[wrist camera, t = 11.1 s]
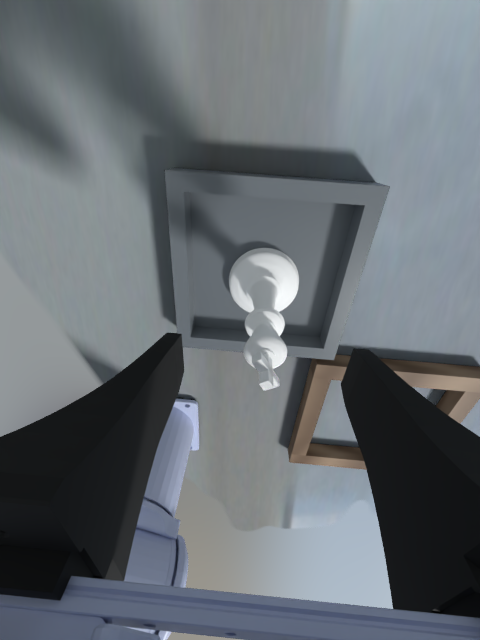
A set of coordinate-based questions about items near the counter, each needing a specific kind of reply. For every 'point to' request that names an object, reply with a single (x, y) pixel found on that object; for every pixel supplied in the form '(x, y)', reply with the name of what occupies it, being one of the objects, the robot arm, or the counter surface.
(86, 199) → the counter surface
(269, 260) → the chess piece
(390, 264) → the counter surface
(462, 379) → the brown square frame
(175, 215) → the tray
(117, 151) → the counter surface
